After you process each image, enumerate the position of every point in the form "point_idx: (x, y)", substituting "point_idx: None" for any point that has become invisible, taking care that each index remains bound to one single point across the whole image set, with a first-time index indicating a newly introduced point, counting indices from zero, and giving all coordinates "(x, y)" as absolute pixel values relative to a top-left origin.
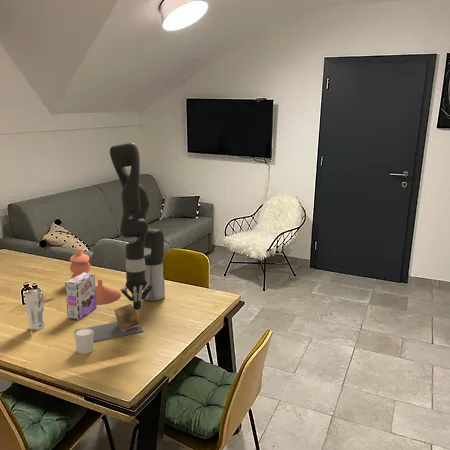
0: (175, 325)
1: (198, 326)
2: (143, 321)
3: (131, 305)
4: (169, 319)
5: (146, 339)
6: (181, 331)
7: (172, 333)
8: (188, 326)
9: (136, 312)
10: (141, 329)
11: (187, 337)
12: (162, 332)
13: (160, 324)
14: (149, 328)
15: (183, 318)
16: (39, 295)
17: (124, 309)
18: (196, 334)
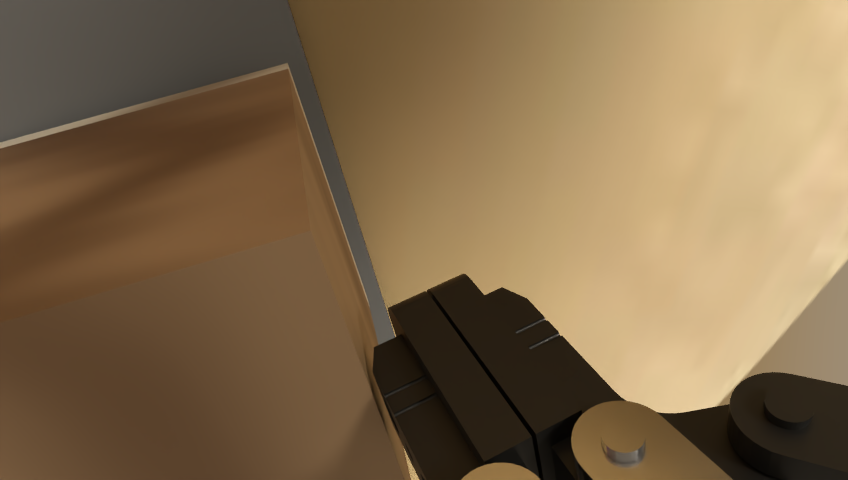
0: (711, 190)
1: (844, 219)
2: (413, 27)
3: (331, 343)
4: (723, 21)
5: (407, 461)
6: (704, 306)
7: (632, 343)
8: (788, 216)
9: (408, 471)
10: (375, 307)
11: (698, 391)
12: (564, 331)
13: (595, 154)
14: (463, 250)
15: (844, 21)
16: None
17: (144, 469)
18: (765, 346)
